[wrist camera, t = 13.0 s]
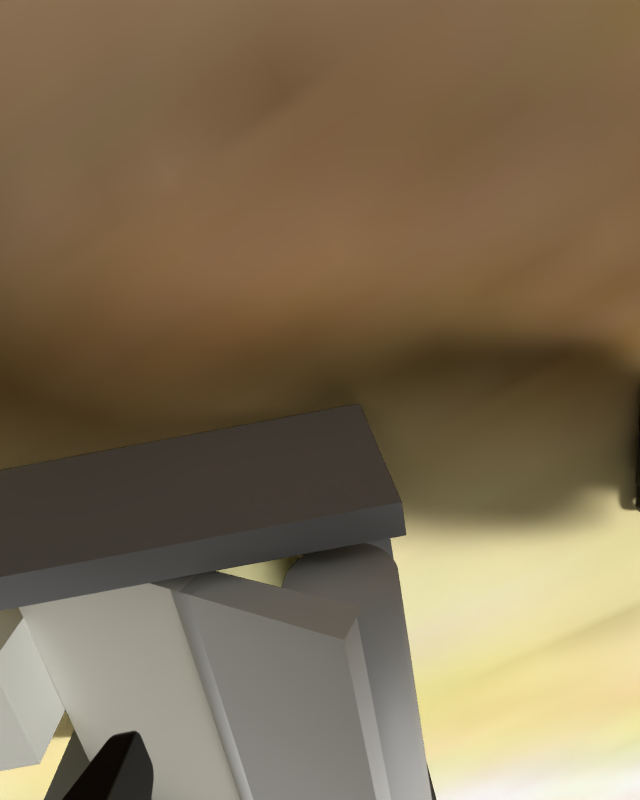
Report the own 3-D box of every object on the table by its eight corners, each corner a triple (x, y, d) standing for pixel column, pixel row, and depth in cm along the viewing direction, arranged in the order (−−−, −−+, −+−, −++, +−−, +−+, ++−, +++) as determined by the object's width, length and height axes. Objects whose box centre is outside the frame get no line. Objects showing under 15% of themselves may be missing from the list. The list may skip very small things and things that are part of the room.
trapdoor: (414, 551, 13) (362, 650, 10) (453, 842, 17) (422, 970, 14) (64, 490, 21) (-18, 537, 18) (145, 698, 25) (87, 763, 22)
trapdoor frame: (359, 403, 20) (401, 502, 13) (402, 677, 25) (452, 868, 17) (-35, 476, 20) (-230, 619, 13) (84, 736, 25) (-6, 954, 17)
